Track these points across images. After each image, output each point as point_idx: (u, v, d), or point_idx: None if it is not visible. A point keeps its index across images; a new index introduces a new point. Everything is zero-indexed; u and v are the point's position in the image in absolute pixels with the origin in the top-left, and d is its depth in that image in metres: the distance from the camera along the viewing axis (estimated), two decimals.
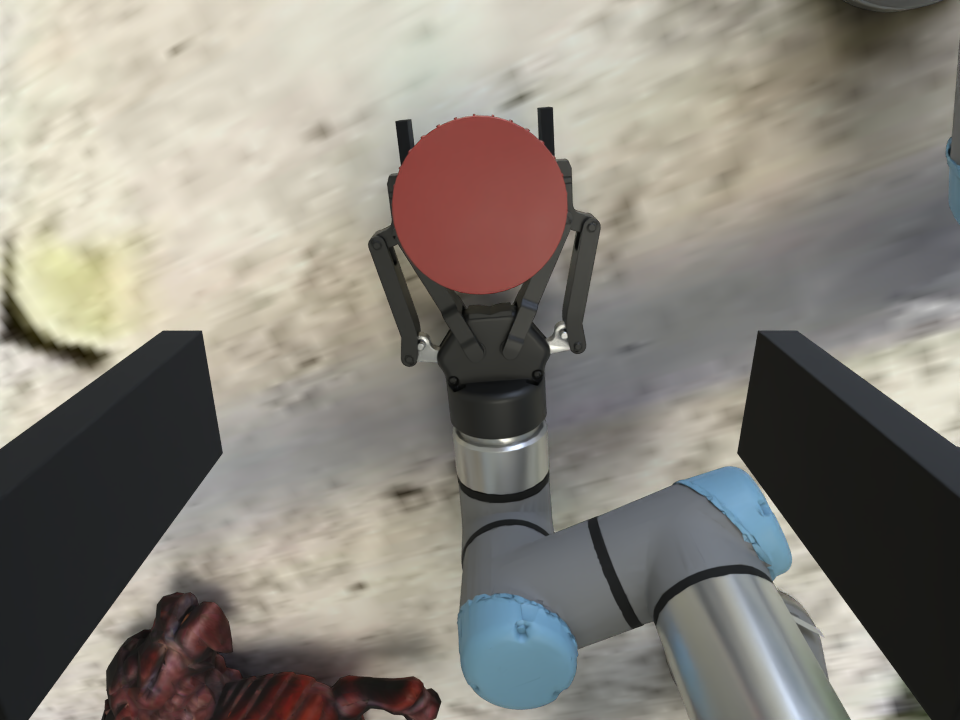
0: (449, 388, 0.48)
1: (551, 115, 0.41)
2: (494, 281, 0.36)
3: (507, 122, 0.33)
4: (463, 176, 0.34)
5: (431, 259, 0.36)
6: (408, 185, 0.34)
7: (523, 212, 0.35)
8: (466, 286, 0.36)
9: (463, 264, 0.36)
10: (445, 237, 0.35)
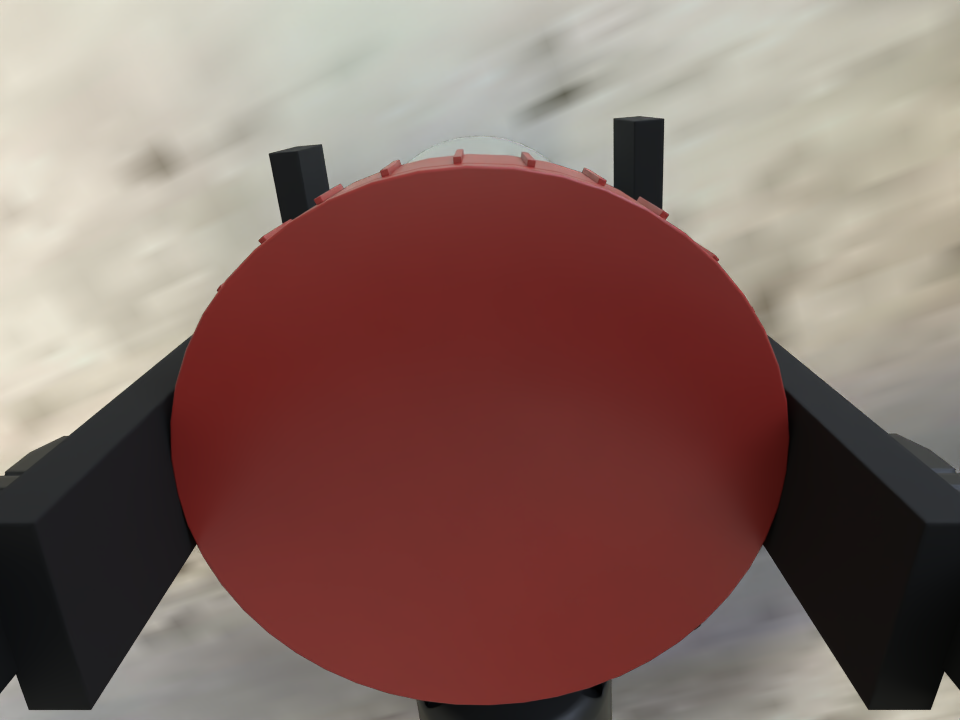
0: None
1: (659, 139, 0.16)
2: (526, 675, 0.11)
3: (589, 189, 0.08)
4: (418, 380, 0.09)
5: (321, 620, 0.11)
6: (221, 409, 0.09)
7: (631, 491, 0.10)
8: (437, 686, 0.12)
9: (425, 632, 0.11)
10: (364, 561, 0.10)
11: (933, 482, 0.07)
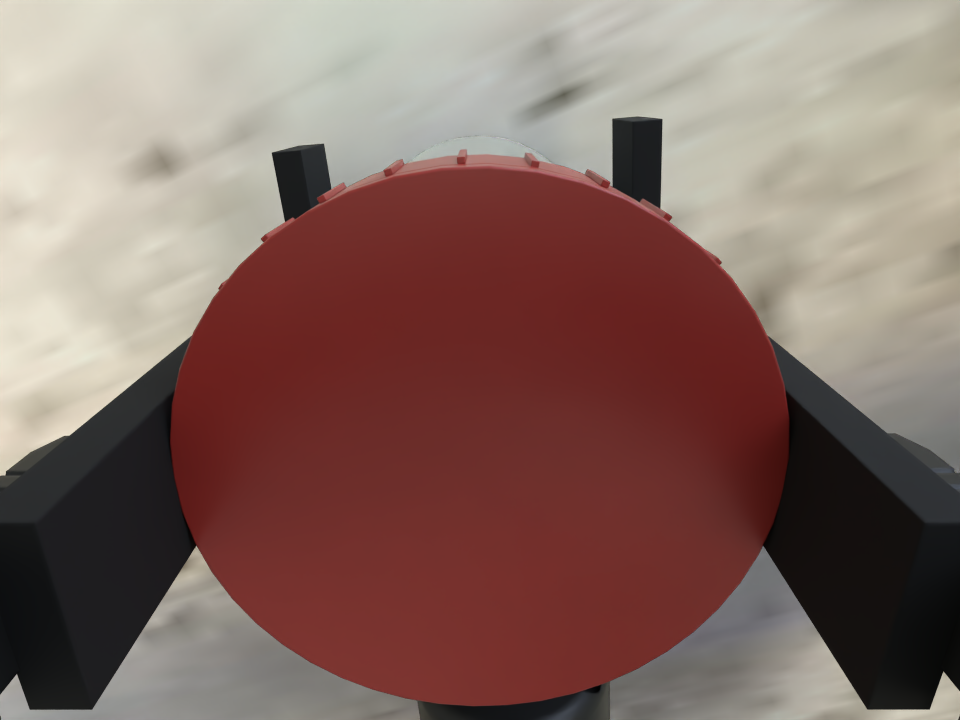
0: None
1: (658, 139, 0.17)
2: (735, 511, 0.10)
3: (210, 313, 0.09)
4: (355, 499, 0.10)
5: (578, 652, 0.11)
6: (339, 642, 0.11)
7: (542, 352, 0.09)
8: (707, 590, 0.11)
9: (633, 579, 0.11)
10: (528, 599, 0.11)
11: (932, 482, 0.08)
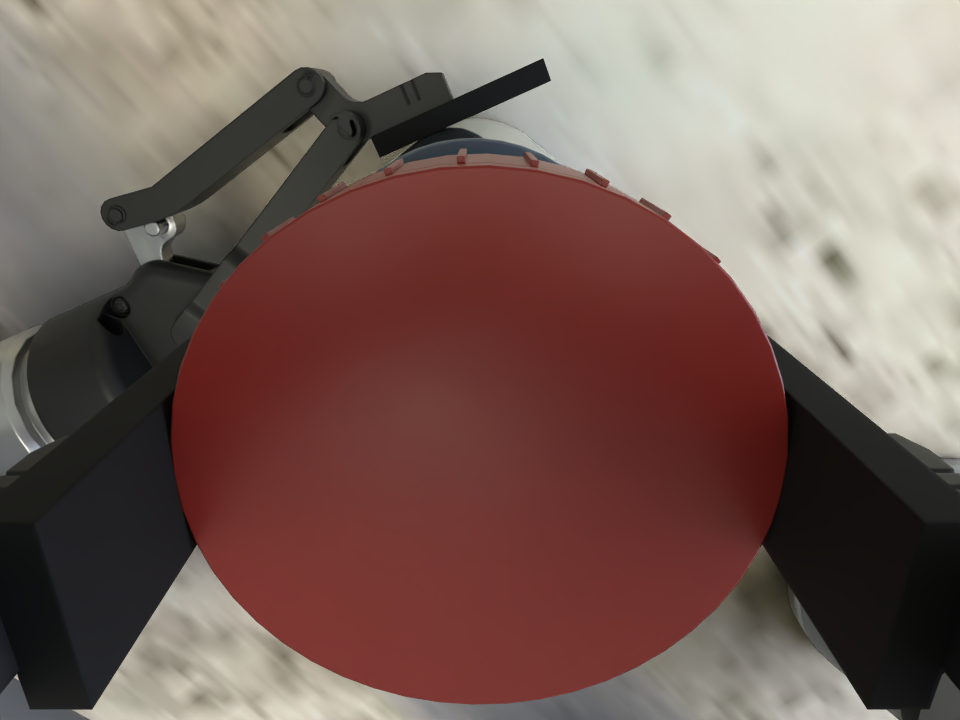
0: (101, 305, 0.25)
1: None
2: (734, 509, 0.10)
3: (210, 312, 0.09)
4: (356, 498, 0.10)
5: (577, 650, 0.11)
6: (339, 640, 0.11)
7: (541, 350, 0.09)
8: (707, 588, 0.11)
9: (632, 577, 0.11)
10: (527, 598, 0.11)
11: (932, 482, 0.08)
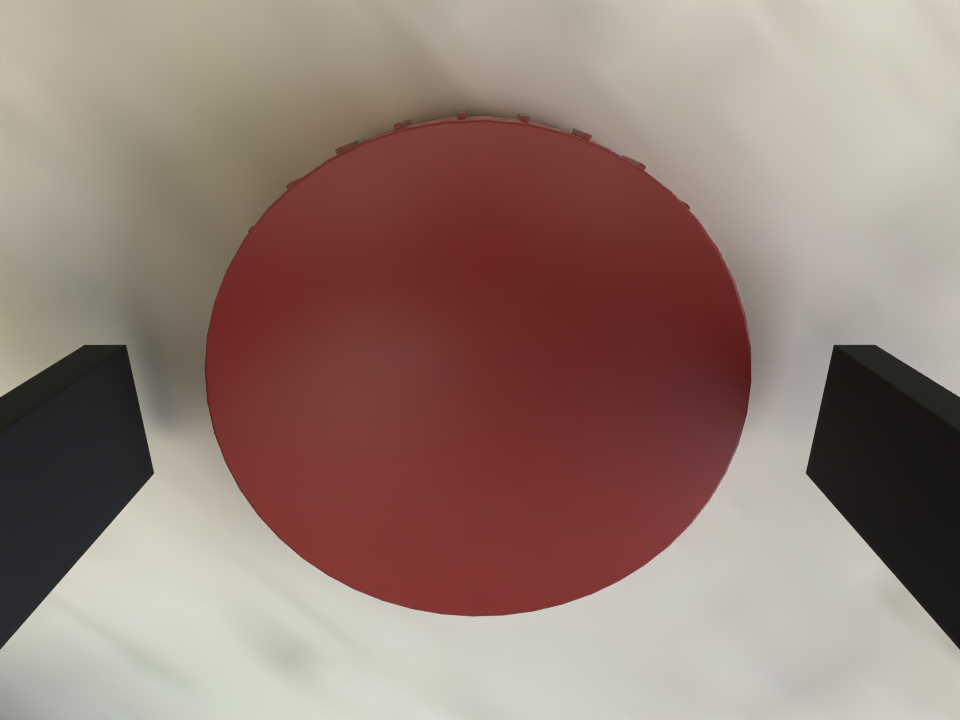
0: None
1: None
2: (704, 432, 0.11)
3: (242, 251, 0.10)
4: (369, 422, 0.11)
5: (566, 565, 0.13)
6: (352, 555, 0.12)
7: (532, 286, 0.10)
8: (681, 506, 0.12)
9: (614, 496, 0.12)
10: (521, 515, 0.12)
11: None
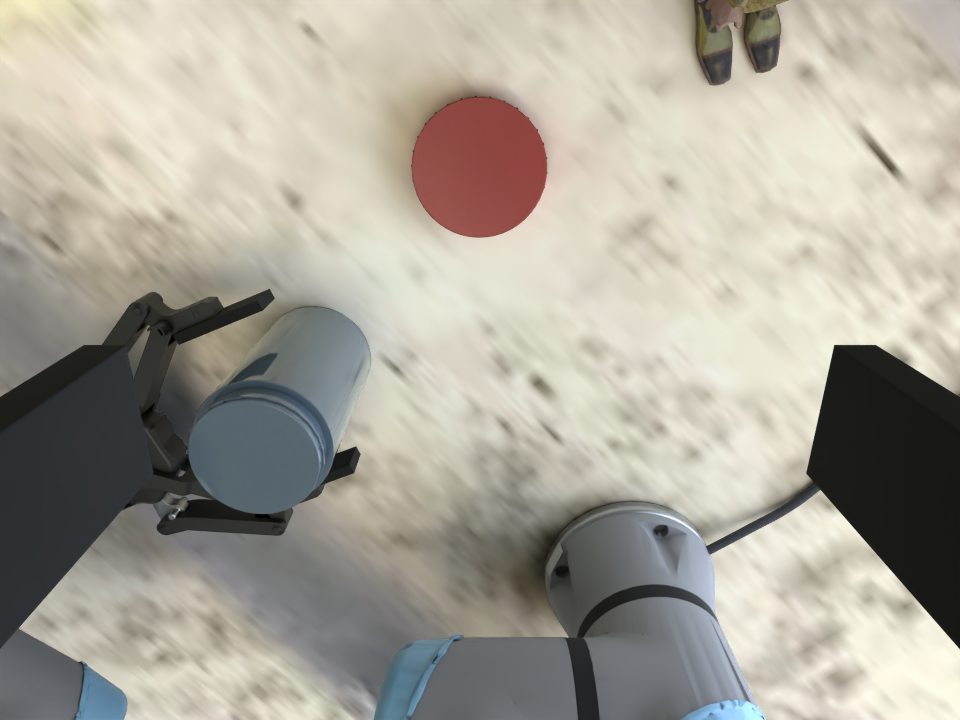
0: None
1: (347, 474, 0.48)
2: (536, 177, 0.45)
3: (424, 128, 0.44)
4: (451, 174, 0.45)
5: (503, 219, 0.46)
6: (445, 216, 0.46)
7: (492, 137, 0.44)
8: (532, 200, 0.46)
9: (515, 196, 0.46)
10: (490, 203, 0.46)
11: None
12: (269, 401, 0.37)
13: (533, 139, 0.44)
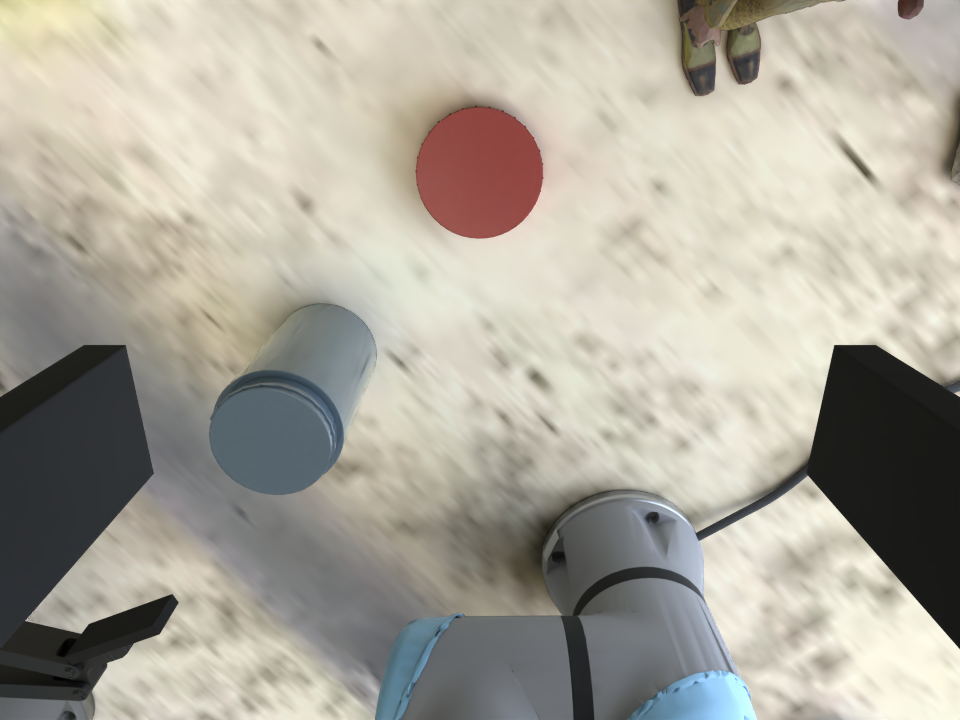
0: None
1: (152, 635, 0.40)
2: (533, 182, 0.48)
3: (428, 136, 0.47)
4: (453, 179, 0.48)
5: (501, 221, 0.49)
6: (447, 218, 0.49)
7: (491, 144, 0.47)
8: (529, 203, 0.49)
9: (513, 200, 0.49)
10: (490, 206, 0.49)
11: None
12: (285, 389, 0.39)
13: (530, 146, 0.47)
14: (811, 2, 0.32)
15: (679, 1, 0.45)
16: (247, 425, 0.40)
